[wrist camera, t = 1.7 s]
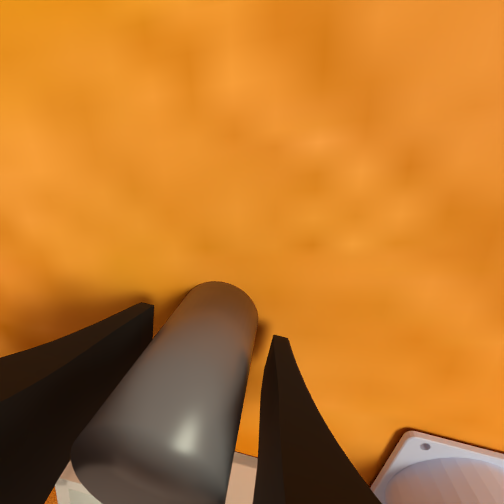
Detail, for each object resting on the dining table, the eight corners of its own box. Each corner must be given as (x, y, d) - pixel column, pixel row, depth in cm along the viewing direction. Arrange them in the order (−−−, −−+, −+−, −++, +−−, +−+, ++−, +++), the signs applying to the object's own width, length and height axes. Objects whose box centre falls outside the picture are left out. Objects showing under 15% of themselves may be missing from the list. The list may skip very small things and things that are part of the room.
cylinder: (265, 292, 12) (238, 452, 5) (250, 355, 13) (214, 545, 7) (185, 273, 12) (63, 404, 5) (179, 337, 13) (76, 503, 7)
